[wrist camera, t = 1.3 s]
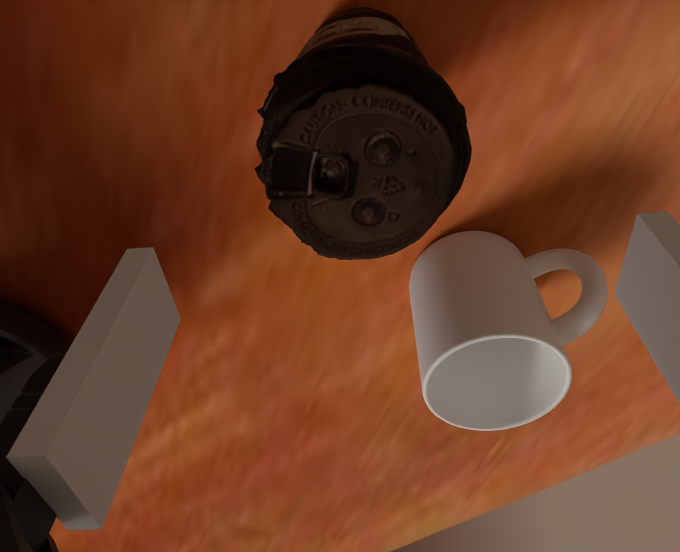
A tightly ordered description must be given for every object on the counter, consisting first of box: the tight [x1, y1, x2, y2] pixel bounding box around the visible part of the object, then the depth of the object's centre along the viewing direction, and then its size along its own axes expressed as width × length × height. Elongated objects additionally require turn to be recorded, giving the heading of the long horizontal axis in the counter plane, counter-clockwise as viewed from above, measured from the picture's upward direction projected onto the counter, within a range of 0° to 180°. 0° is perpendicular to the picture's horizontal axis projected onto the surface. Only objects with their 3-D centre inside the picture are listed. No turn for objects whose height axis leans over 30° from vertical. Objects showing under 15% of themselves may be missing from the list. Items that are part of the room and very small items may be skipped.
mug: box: [409, 231, 608, 431], centre depth 33 cm, size 12×8×10 cm
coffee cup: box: [255, 8, 472, 260], centre depth 24 cm, size 9×8×13 cm
